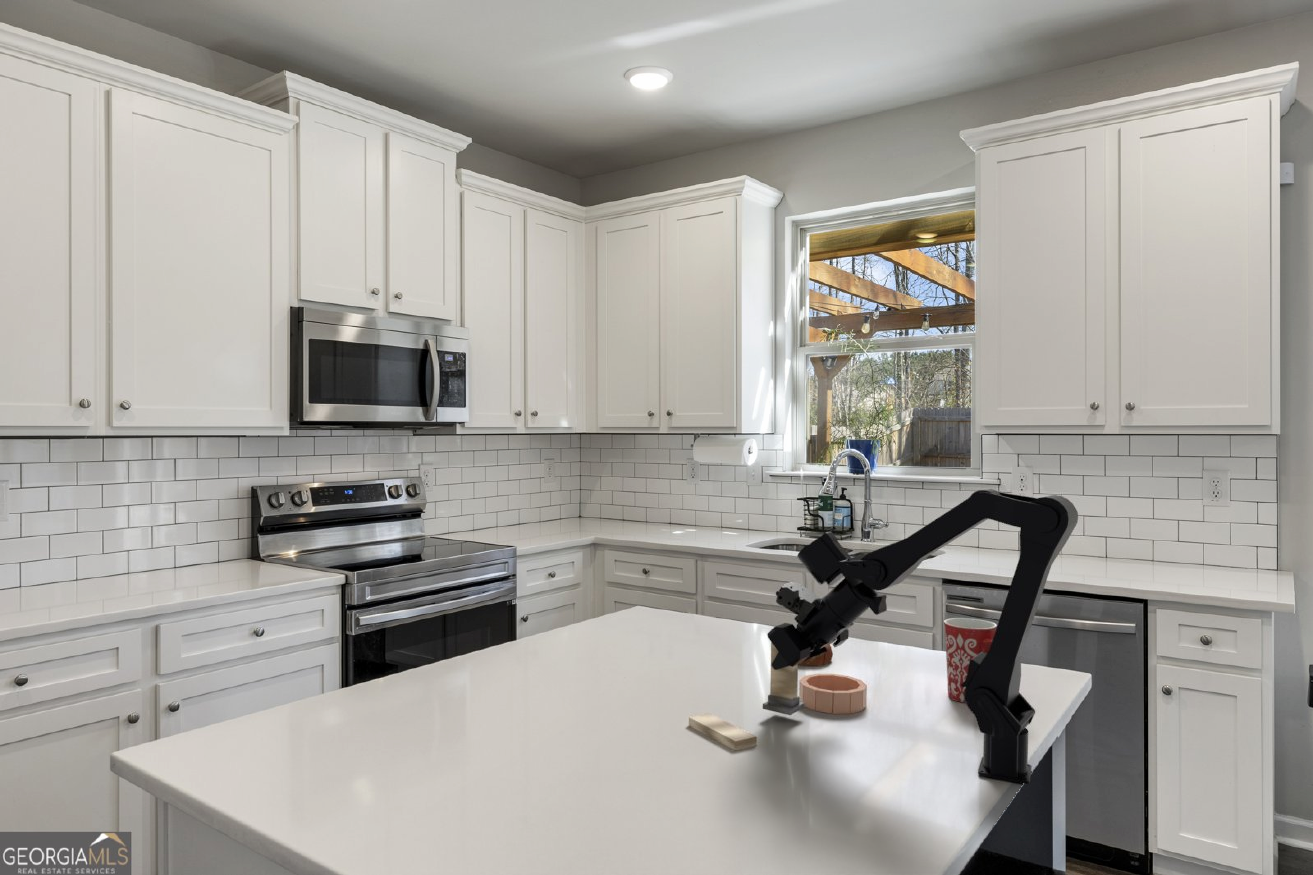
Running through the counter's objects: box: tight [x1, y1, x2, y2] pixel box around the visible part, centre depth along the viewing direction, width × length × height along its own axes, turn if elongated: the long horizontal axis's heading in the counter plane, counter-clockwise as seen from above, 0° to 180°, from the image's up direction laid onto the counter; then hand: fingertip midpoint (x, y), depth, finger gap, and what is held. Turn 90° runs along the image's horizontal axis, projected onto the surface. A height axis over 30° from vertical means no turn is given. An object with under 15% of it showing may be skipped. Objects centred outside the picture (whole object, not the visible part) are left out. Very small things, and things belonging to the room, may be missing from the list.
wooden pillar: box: [762, 628, 805, 716], centre depth 137 cm, size 5×5×13 cm
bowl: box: [798, 673, 868, 715], centre depth 146 cm, size 11×11×4 cm
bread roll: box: [798, 644, 834, 667], centre depth 174 cm, size 10×10×8 cm
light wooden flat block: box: [688, 712, 758, 751], centre depth 129 cm, size 12×4×2 cm, turn 32°
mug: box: [943, 617, 998, 704], centre depth 149 cm, size 13×9×14 cm
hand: (776, 666), depth 138 cm, fingers closed on wooden pillar
